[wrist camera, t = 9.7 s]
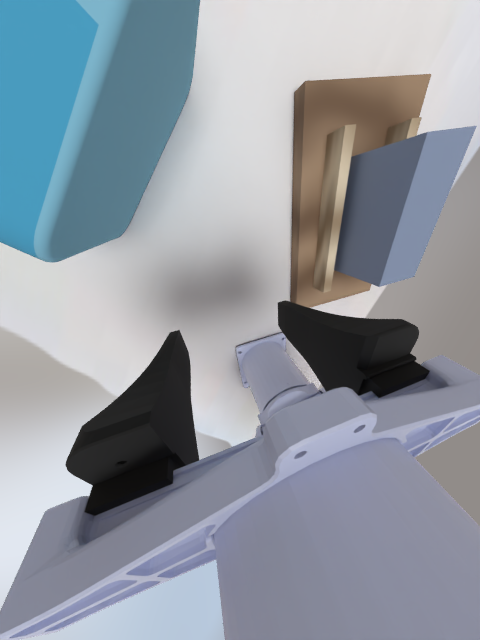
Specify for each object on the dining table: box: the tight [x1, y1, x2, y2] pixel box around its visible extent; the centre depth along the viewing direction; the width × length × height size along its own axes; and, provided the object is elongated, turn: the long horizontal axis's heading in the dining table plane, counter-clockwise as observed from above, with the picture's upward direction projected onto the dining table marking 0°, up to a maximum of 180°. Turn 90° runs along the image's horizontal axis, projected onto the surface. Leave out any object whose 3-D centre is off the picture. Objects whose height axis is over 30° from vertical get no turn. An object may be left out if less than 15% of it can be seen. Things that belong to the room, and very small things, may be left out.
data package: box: [0, 0, 200, 262], centre depth 8 cm, size 12×4×12 cm, turn 142°
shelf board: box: [291, 74, 431, 308], centre depth 19 cm, size 20×12×4 cm, turn 8°
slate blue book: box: [334, 126, 476, 287], centre depth 17 cm, size 10×4×7 cm, turn 8°
